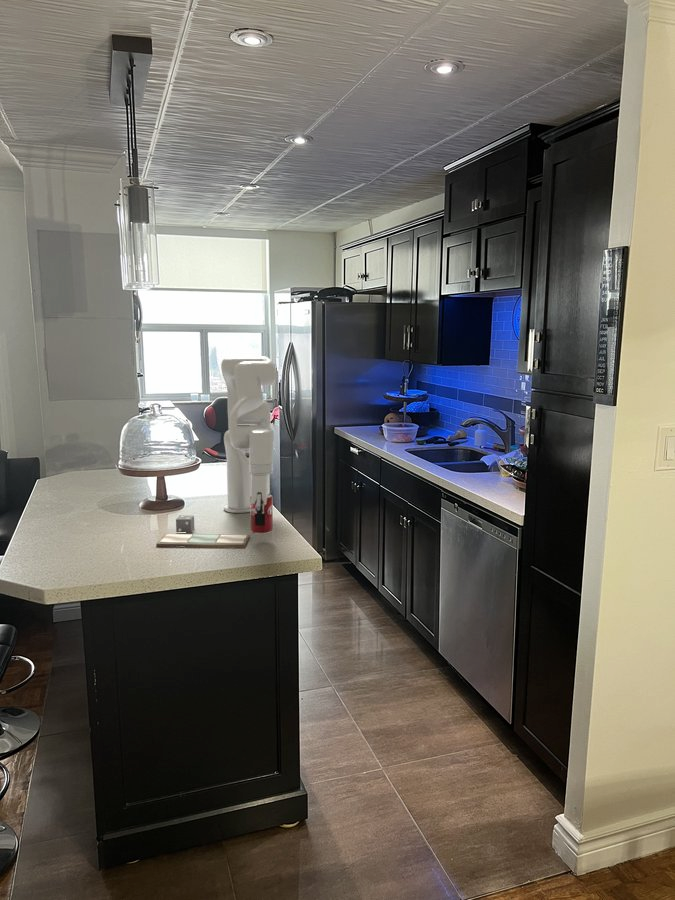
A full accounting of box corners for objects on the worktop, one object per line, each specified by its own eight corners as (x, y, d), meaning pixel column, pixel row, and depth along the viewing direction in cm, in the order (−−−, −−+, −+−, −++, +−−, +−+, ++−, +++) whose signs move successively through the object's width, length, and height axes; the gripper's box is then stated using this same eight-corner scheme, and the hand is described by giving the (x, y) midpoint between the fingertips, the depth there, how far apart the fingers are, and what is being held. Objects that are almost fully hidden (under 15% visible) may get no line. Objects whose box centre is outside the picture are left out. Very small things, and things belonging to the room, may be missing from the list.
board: (165, 536, 223) (165, 533, 223) (249, 537, 222) (249, 534, 222) (156, 546, 212) (156, 543, 212) (244, 547, 212) (244, 544, 211)
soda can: (252, 535, 213) (251, 499, 210) (249, 528, 220) (248, 493, 217) (274, 533, 215) (274, 497, 212) (270, 527, 221) (270, 492, 219)
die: (180, 529, 232) (179, 515, 231) (194, 529, 232) (194, 515, 231) (176, 533, 227) (175, 519, 226) (191, 533, 227) (190, 519, 226)
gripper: (253, 462, 222) (253, 513, 225) (245, 474, 205) (246, 529, 208) (275, 462, 221) (276, 514, 225) (269, 474, 204) (270, 530, 208)
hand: (261, 521), depth 216 cm, fingers closed on soda can, 7 cm apart
